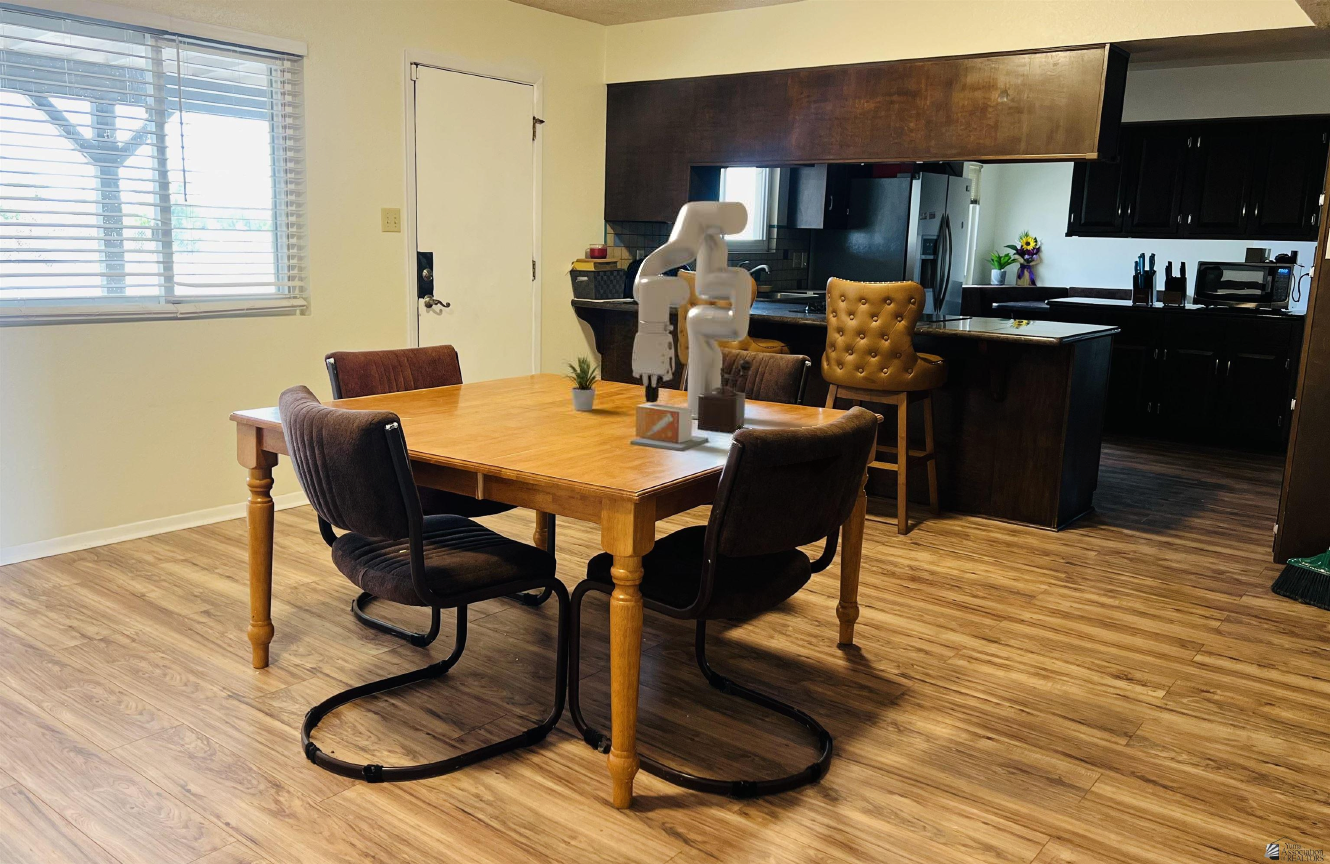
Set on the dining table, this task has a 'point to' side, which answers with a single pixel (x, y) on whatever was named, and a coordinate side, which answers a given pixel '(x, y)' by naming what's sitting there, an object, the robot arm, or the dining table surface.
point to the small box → (664, 422)
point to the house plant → (583, 385)
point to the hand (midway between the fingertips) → (651, 401)
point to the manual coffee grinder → (723, 404)
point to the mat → (669, 443)
